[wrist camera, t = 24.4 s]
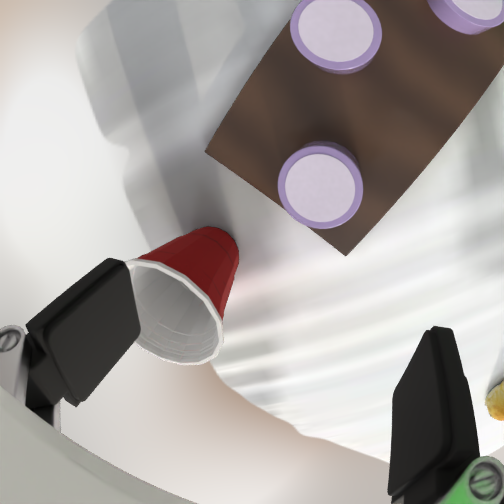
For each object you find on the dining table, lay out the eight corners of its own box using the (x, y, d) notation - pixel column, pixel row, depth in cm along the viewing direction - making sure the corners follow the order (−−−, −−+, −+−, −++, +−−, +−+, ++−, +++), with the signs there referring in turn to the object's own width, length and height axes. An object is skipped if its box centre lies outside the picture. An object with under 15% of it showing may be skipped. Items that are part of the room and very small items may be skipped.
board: (381, -84, 12) (381, -88, 12) (525, 25, 13) (530, 23, 12) (208, 150, 28) (204, 151, 27) (346, 252, 29) (345, 256, 28)
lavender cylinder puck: (324, -9, 18) (320, -25, 15) (392, 33, 18) (399, 23, 15) (282, 46, 21) (272, 38, 18) (349, 89, 21) (349, 87, 18)
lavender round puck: (315, 124, 24) (309, 127, 21) (377, 173, 24) (380, 184, 21) (272, 183, 27) (261, 195, 24) (330, 228, 27) (327, 245, 24)
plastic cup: (207, 307, 37) (157, 378, 27) (153, 232, 35) (83, 287, 24) (284, 276, 32) (248, 360, 22) (226, 184, 29) (156, 235, 19)
